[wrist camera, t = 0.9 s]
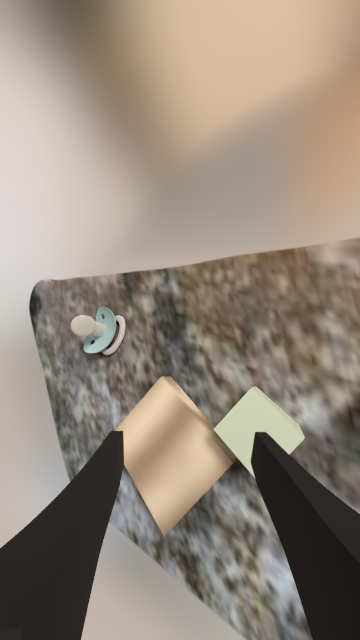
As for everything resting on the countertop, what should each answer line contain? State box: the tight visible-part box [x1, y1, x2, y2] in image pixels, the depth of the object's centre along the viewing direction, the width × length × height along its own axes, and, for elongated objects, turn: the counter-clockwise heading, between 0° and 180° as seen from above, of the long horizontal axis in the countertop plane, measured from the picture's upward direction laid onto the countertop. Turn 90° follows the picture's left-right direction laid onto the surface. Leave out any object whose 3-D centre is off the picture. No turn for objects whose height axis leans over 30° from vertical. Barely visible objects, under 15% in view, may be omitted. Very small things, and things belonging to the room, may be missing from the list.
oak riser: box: [115, 377, 236, 536], centre depth 23 cm, size 11×10×3 cm
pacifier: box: [71, 307, 125, 355], centre depth 30 cm, size 7×6×6 cm
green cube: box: [214, 386, 305, 478], centre depth 19 cm, size 5×5×5 cm
